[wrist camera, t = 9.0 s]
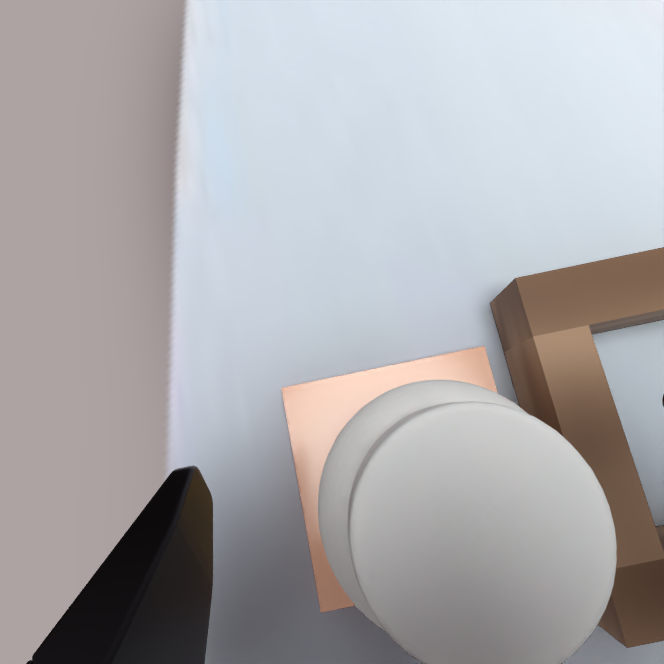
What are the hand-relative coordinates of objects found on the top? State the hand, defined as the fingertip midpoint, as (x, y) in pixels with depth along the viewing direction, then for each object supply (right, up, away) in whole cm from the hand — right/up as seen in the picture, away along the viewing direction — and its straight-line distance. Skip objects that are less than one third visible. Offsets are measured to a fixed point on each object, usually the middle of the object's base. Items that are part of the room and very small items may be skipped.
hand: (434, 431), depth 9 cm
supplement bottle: (+1, -3, +8) cm, 8 cm away
